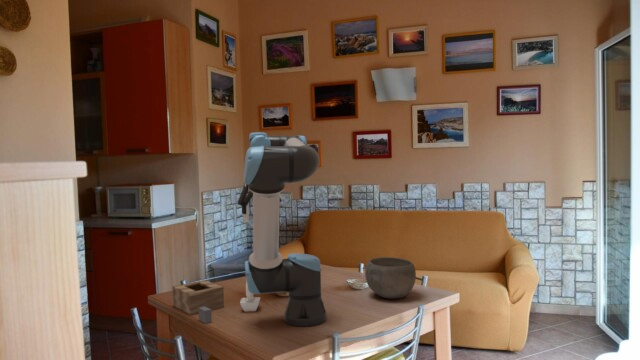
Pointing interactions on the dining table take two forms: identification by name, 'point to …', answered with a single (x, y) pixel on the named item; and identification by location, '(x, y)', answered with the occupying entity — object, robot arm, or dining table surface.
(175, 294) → the brown wooden box
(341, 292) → the dining table surface
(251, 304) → the figurine
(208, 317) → the stand
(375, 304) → the dining table surface
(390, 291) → the bowl
